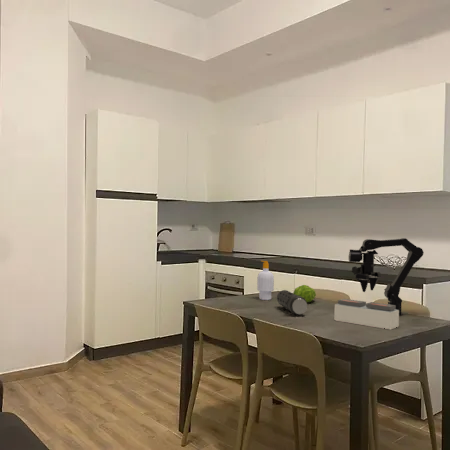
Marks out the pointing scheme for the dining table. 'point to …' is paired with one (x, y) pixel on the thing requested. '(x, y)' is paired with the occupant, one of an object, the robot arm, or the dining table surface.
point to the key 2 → (380, 306)
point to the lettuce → (305, 292)
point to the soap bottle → (265, 282)
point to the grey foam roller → (292, 302)
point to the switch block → (367, 316)
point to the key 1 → (352, 302)
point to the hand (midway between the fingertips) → (367, 291)
